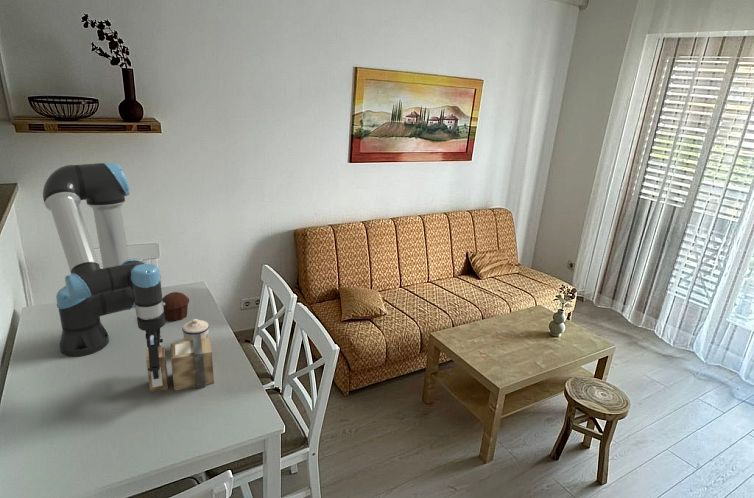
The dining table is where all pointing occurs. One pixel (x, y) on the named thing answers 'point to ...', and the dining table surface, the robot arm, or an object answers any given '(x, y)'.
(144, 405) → the dining table surface
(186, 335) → the teacup with lid
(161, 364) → the pink-ended wooden block
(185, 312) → the muffin
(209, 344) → the tan wooden crate
